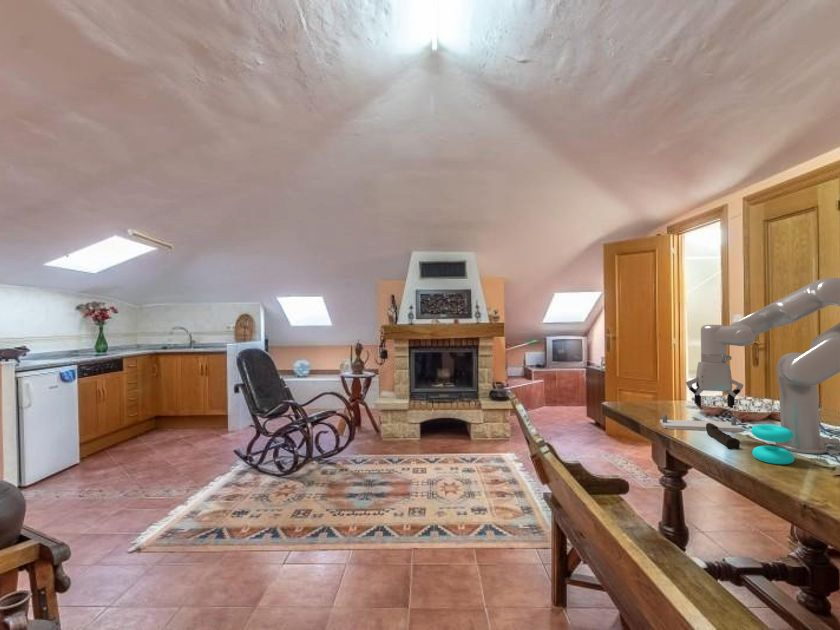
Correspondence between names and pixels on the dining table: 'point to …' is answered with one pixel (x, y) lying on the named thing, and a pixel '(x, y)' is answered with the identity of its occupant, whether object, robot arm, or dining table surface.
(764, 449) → the donuts
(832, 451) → the dining table surface
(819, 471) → the dining table surface
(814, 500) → the dining table surface
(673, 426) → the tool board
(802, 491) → the dining table surface
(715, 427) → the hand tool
